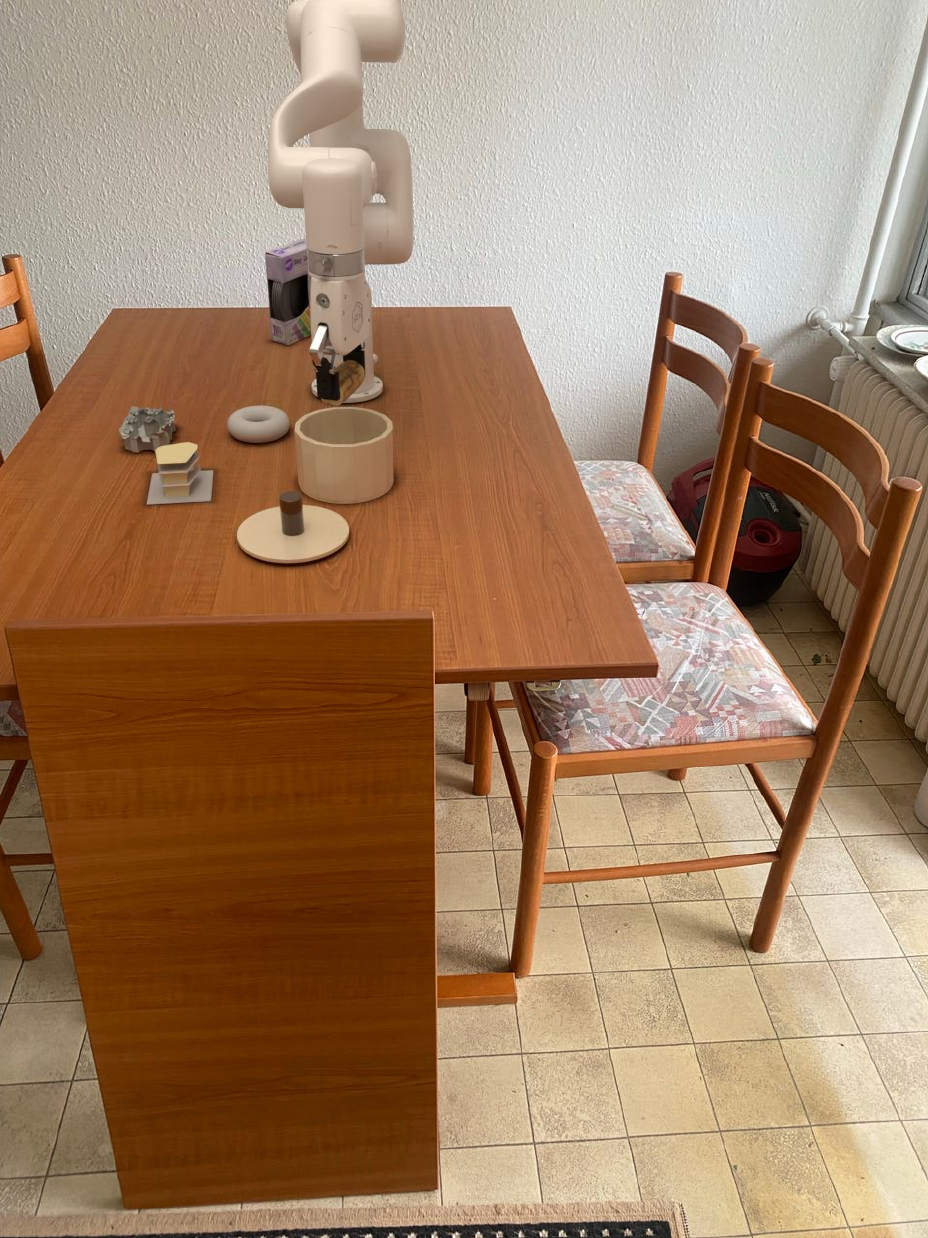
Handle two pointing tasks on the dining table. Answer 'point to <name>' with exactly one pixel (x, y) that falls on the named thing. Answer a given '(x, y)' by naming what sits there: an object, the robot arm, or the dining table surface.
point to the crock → (344, 454)
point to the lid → (292, 532)
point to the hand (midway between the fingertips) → (342, 387)
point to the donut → (258, 424)
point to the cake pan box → (289, 292)
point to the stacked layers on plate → (179, 476)
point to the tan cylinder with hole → (348, 380)
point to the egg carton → (147, 429)
